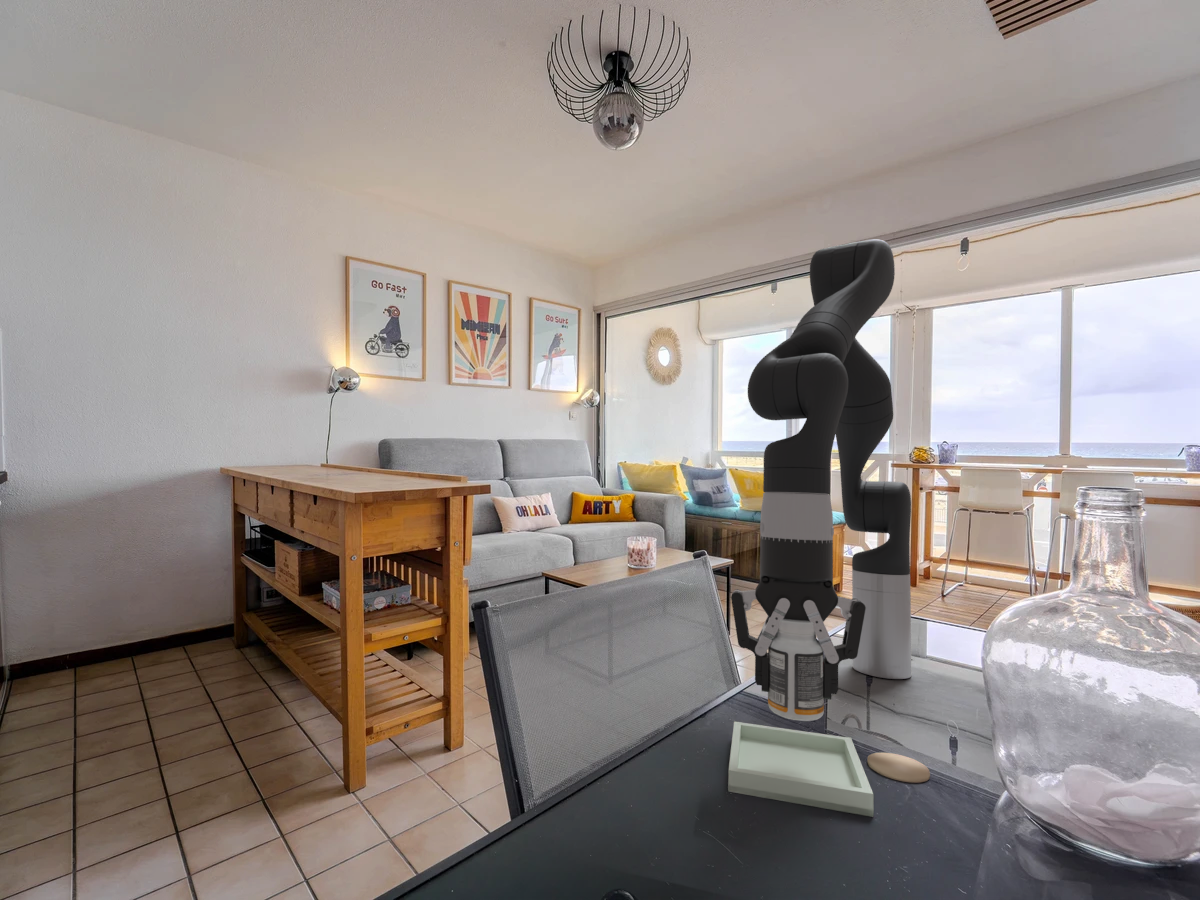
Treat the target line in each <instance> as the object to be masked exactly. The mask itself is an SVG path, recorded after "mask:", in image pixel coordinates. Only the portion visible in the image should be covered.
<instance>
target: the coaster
mask: <svg viewBox="0 0 1200 900" xmlns="http://www.w3.org/2000/svg"><path fill="white" fill-rule="evenodd" d="M867 765H868V767H869V768H870V769H871V770H873V772H876V773H877V774H879V775H881V776H883V777H886V778H888V779H892V780H895V781H899V782H904V783H910V784H911V783H913V784H914V783H917V784H918V783H924V782H927V781H928V780H930V778H931V772H930V769H929V768H928V767H927V766H926V765H925V764H923V763H922V762H920V761H918V760H916V759H914V758H912V757H908V756H906V755H901V754H897V753H891V752H875V753H870V754H869V755H868V756H867Z"/></svg>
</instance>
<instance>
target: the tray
mask: <svg viewBox="0 0 1200 900" xmlns="http://www.w3.org/2000/svg"><path fill="white" fill-rule="evenodd" d="M731 737H732V738H731V747H730V755H729V763H728V775H727V776H728V780H727V781H728V782H727V784H728V787H727V788H728V789H727V790H728V791H727V792H731V793H734V794H735V793H736V794H740V795H747V796H753V797H758V798H763V799H769V800H776V801H780V802H786V803H791V804H792V803H793V804H797V805H804V806H810V807H815V808H819V809H820V808H821V809H827V810H831V811H838V812H842V813H848V814H849V813H850V814H853V815H854V814H855V815H859V816H865V817H872V818H873V817H874V811H875V810H874V807H875V806H874V791H873V790H872V787H871V785H870V782H869V779H868V777H867V775H866V773H865V769H864V767H863V764H862V761H861V760H860V757H859V754H858V753H857V752H858V751H857V749H856V747H855V745H854V742H853V740H852V737H848V736H847V737H846V736H840V735H839V736H838V735H833V734H826V733H825V734H824V733H819V732H809V731H804V730H797V729H790V728H783V727H776V726H768V725H761V724H755V723H747V722H741V721H733V730H732V736H731Z"/></svg>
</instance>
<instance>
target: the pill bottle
mask: <svg viewBox="0 0 1200 900" xmlns="http://www.w3.org/2000/svg"><path fill="white" fill-rule="evenodd" d="M776 619H777V618H776ZM816 623H817V622H816ZM773 626H774V625H773ZM767 653H768V656H769V670H768V692H767V706H768V707H769V708H768V709H769V710H770V711H771V712H772V713H774V714H776V715H777V716H780V717H782V718H785V719H789V720H792V721H800V722H801V721H802V722H811V721H812V722H813V721H818V720H819V719H821V718H822V717H823V715H824V714H825V710H824V708H825V699H824V652H823V649H822V647H821V645H820V643H819V641H818V638H817V636H816V634H815V631H814V628H813V622H810V621H803V620H791V619H783V620H780V627H779V629H778V631H777V633H776V635H775V637H774V638H773V640H772V642H771V644H770V646H769V648H768V650H767Z"/></svg>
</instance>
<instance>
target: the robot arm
mask: <svg viewBox="0 0 1200 900" xmlns="http://www.w3.org/2000/svg"><path fill="white" fill-rule="evenodd" d="M810 259H811V260H810V264H809V283H810V291H811V296H812V302H813V307H811V308H810V309H809V310H807V312H806V313H805V314H804V315H803V316H802V317H801V319H800V320H799V322H798V323H797V325H796V327H795V329H794V330H793V332H792V333H791V335H790V336H789V338H787V339H786V340H784V341H782V342H781V343H779V345H777V346H776V347H774V348H773V349H771V351H769V352H768V353H767V354H766V355H764V356H763V357H762V358H761V359H760V360H759V362H757V364H756V365H755V367H754V369H753V370H752V372H751V374H750V376H749V380H748V384H747V399H748V402H749V403H748V404H749V405H750V407H751V408H752V410H753V412H754V413H755V414H756V415H758V416H759V417H760V418H762V419H765V420H768V421H787V420H803V419H805V421H804V424H803V426H802V427H801V429H800V430H799V431H798V432H797V433H796V434H794V435H792V436H789V437H786V438H782V439H779V440H775V441H772V442H770V443H769V444H767V445H766V447H765V449H764V452H763V477H762V479H763V485H762V487H763V490H762V491H763V493H762V495H763V496H762V504H761V509H760V524H759V532H760V535H759V538H760V544H759V546H760V553H759V554H760V555H759V565H760V566H759V582H758V584H757V585H756V588H755V589H748V590H741V589H734V590H733V591H732V593H731V595H730V596H731V597H730V599H731V605H732V613H733V618H734V624H735V631H736V632H735V633H736V638H737V644H738V646H739V647H740V648H742V649H746V650H748V651H751V652H752V653H753V654H754V657H755V658H754V681H755V684H756V685H757V686H761V692H764V693H768V670H769V656H768V648H769V646H770V644H771V642H772V640H773V638H774V637H775V635H776V633H777V631H778V629H779V627H780V620H783V619H791V620H803V621H810V622H813V628H814V631H815V634H816V639H817V640H818V641H819V643H820V645H821V647H822V649H823V653H824V700H832V697H833V696H832V695H837V693H838V691H839V666H840V665H839V664H840V663H841V662H842V661H845V660H848V659H849V660H852V668H853V669H854V670H855V671H857V672H859V673H861V674H865V675H867V676H868V675H869V676H872V677H875V678H876V677H877V678H881V679H882V678H883V679H890V680H891V679H892V680H903V679H904V680H905V679H910V678H911V677H912V620H911V619H912V611H911V609H912V602H911V598H912V597H911V596H912V595H911V562H910V560H911V559H910V558H911V556H910V553H911V552H910V551H911V550H910V548H911V547H910V545H911V544H910V539H911V537H910V535H911V517H912V499H911V496H912V495H911V491H910V489H909V487H908V485H907V484H906V483H905V482H902V481H886V480H885V481H881V480H880V481H876V480H875V481H871V480H869V481H868V480H863V479H862V474H863V473H862V472H863V470H864V468H865V466H866V464H867V462H868V460H869V459H870V457H871V456H872V454H873V453H874V451H875V450H876V448H877V447H878V446H879V444H880V443H881V442H882V440H883V439H884V437H885V436H886V434H887V433H888V431H889V429H890V427H891V426H892V423H893V419H894V405H893V393H892V384H891V380H890V378H889V376H888V374H887V372H886V371H885V370H884V369H883V367H882V366H881V365H880V363H879V362H878V361H877V360H876V359H875V357H873V356H872V355H871V354H870V353H869V352H868V350H866V349H865V347H863V346H862V344H861V343H860V342H859V341H858V339H857V338H856V337H857V335H858V333H859V332H860V330H861V329H863V327H864V325H866V323H867V322H868V321H869V320H870V319H871V318H872V317H873V316H874V315H875V314H876V312H877V311H878V310H879V309H880V308H881V306H882V305H883V304H884V303H885V302H886V301H887V299H888V298H889V296H890V294H891V292H892V290H893V286H894V282H895V274H896V273H895V269H896V268H895V260H894V259H895V258H894V253H893V250H892V247H891V246H890V244H889V243H888V242H887V241H885V240H882V239H879V238H877V239H866V240H862V241H861V240H860V241H856V242H850V243H845V244H840V245H836V246H835V245H834V246H829V247H826V248H825V247H824V248H821V249H818V250H817V251H815V253H813V255H812V257H811V258H810ZM835 438H836V445H837V451H838V459H839V472H840V485H841V503H842V510H843V511H842V513H843V517H844V520H845V524H846V525H847V528H848V529H850V530H852V531H855V532H860V533H861V532H862V533H875V534H888V536H889V537H888V539H887V540H886V541H885V542H884V543H883V544H881V545H879V546H877V547H874V548H871V549H868V550H863V551H860V552H859V551H858V552H856V553H854V554H853V555H852V559H851V569H852V571H851V573H852V576H851V581H852V582H851V585H852V587H851V588H852V590H851V594H852V598H847V597H843V596H838V594H837V593H836V591H835V588H834V575H833V574H834V571H833V570H834V543H833V542H834V535H835V527H834V521H833V520H834V517H833V516H834V515H833V509H832V502H831V501H832V500H831V456H832V453H833V446H834V442H835ZM754 600H757V602H758V604H759V605H760V606H761V608H762V610H763V611H764V612H765V614H766V615H767V617H766V619H765V621H764V623H763V625H762V628H761V630H760V632H759V634H758V636H757V637H754V636H753V635H751V634H750V629H749V626H748V625H749V624H748V618H747V611H750V610H751V609H752V603H753V602H754ZM836 607H839V608H840V614H841V616H842V617H843V618H844V619H845V626H844V631H843V637H842V642H841V644H837V645H834V644H833V641H832V639H831V636H830V634H829V631H828V630H827V627H826V625H825V621H826V620H827V618H828V617H829V616H830V615H831V613H832V612H834V610H835V608H836ZM776 618H777V619H776ZM816 622H817V623H816ZM773 625H774V626H773Z"/></svg>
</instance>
